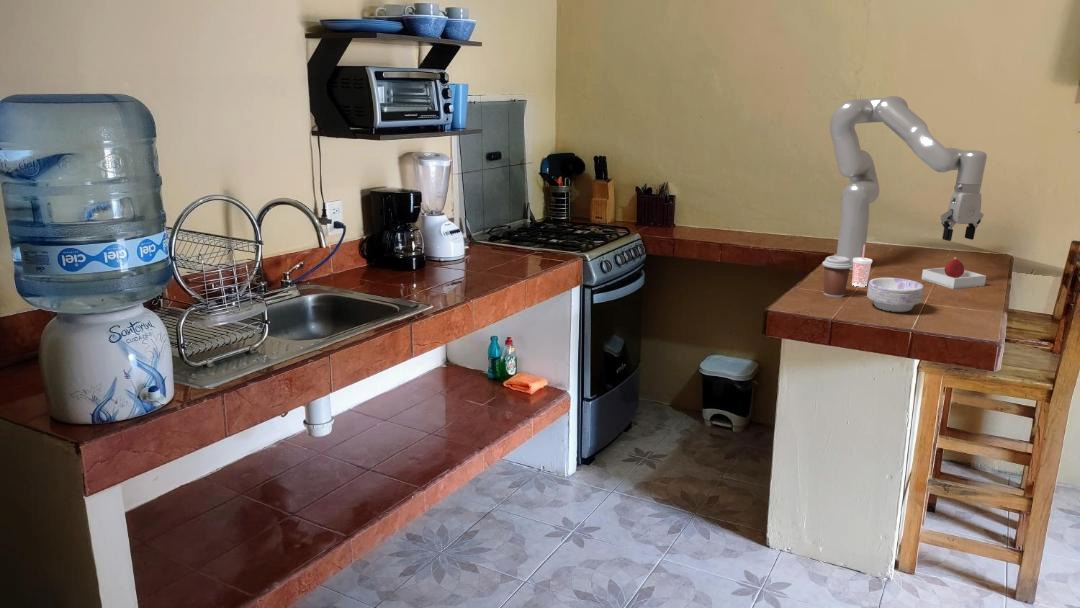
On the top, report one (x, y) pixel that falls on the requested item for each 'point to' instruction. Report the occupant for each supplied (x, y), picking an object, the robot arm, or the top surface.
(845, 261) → the coffee cup
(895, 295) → the paper bowls
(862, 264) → the beverage cup
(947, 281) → the box
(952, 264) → the onion
